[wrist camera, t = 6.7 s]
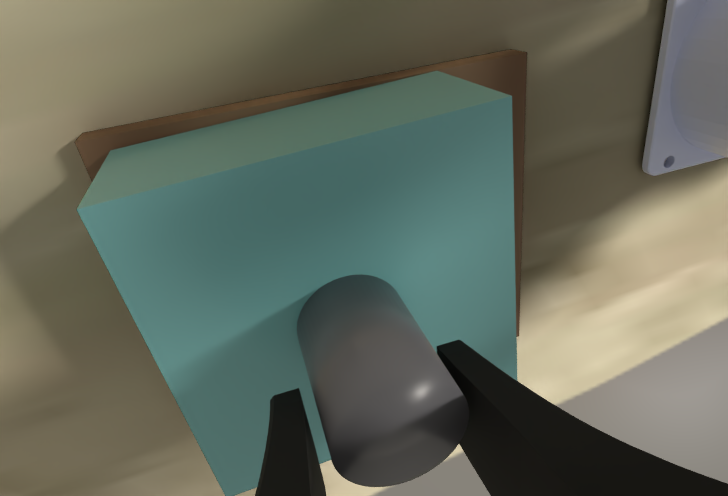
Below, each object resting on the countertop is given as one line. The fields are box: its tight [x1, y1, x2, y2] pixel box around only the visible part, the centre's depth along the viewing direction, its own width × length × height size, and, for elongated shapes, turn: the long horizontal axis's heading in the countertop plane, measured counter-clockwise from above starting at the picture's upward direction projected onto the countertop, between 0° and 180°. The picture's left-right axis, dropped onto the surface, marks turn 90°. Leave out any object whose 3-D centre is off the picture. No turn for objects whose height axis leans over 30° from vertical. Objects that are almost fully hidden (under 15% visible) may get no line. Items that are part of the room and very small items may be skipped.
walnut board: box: [75, 49, 527, 337], centre depth 18 cm, size 14×12×1 cm
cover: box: [76, 71, 517, 496], centre depth 14 cm, size 10×10×8 cm
